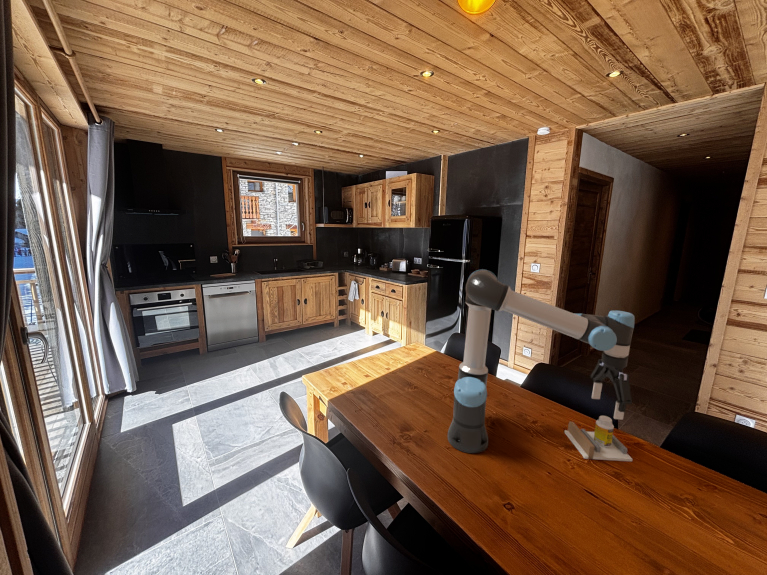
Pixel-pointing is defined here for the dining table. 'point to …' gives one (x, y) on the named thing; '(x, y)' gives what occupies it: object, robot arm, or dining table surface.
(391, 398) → the dining table surface
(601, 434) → the supplement bottle
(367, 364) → the dining table surface
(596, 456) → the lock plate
